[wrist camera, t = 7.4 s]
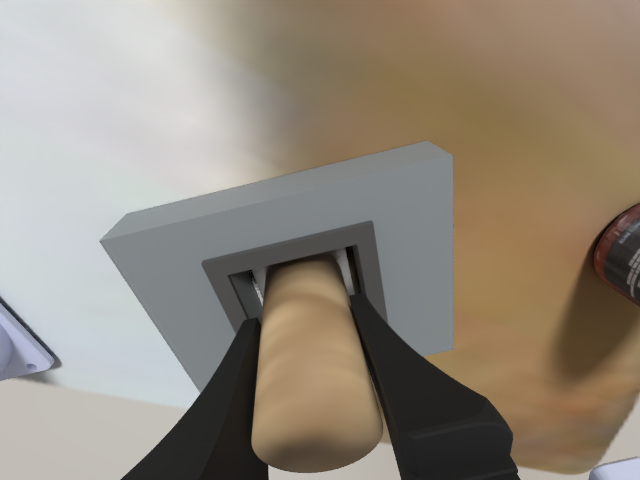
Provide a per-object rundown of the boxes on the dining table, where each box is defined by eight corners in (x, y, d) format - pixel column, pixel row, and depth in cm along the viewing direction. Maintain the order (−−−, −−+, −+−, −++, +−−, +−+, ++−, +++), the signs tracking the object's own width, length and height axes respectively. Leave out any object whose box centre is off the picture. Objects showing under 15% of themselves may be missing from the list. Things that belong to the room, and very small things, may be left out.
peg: (278, 316, 18) (273, 482, 11) (254, 258, 16) (231, 416, 9) (348, 299, 18) (389, 456, 11) (334, 238, 16) (373, 383, 9)
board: (216, 367, 20) (207, 410, 18) (126, 213, 15) (95, 244, 12) (435, 317, 20) (456, 353, 17) (427, 140, 14) (456, 157, 12)
